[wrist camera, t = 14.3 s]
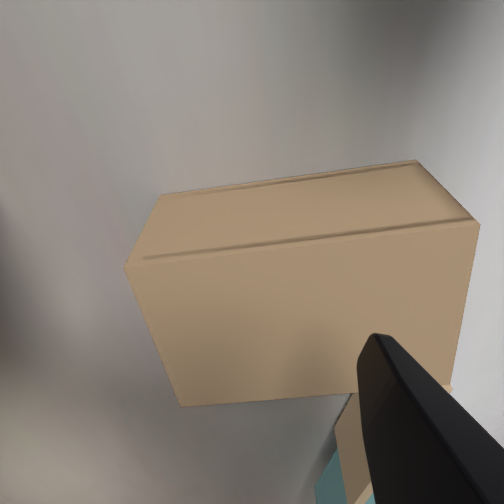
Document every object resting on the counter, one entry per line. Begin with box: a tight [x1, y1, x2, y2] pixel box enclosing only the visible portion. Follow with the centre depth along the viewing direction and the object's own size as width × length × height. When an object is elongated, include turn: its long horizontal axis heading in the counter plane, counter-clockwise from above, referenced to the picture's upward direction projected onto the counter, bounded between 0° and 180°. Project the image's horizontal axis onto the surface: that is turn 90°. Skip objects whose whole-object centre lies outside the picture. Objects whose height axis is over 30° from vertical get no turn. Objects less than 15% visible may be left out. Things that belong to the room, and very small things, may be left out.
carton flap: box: [315, 385, 453, 504], centre depth 24 cm, size 18×3×6 cm, turn 168°
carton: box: [124, 160, 480, 407], centre depth 18 cm, size 12×8×6 cm, turn 99°
